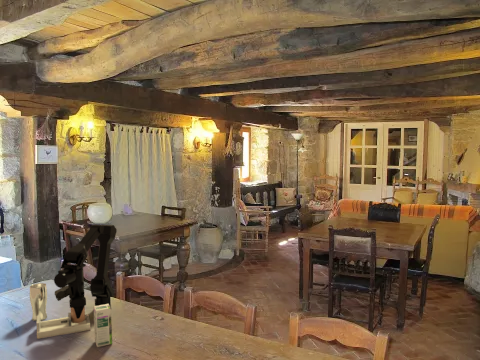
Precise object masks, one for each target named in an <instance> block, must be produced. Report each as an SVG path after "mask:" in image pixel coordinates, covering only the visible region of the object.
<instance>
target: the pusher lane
mask: <svg viewBox="0 0 480 360" xmlns="http://www.w3.org/2000/svg"><path fill="white" fill-rule="evenodd" d="M89 315H90V314H89V313H87V314H86V313H85V320H84V321H83V322H80V323H72V322H71V326H69V320H68V317H62V318H56V319H55V318H54V319H49V320H42V321H41V318H40V315H38V316H37V321H36V338H37V340H38V339H39V340H40V339H45V338H50V337H56V336H57V337H58V336H63V335H69V334H75V333H79V332H86V331H91V321H90V316H89ZM64 320H67V323H61V321H64Z"/></svg>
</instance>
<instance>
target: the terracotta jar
mask: <svg viewBox="0 0 480 360" xmlns="http://www.w3.org/2000/svg"><path fill="white" fill-rule="evenodd" d="M85 306H86V305H85ZM85 306H84V308H83V311H82V313H81V316H80V318H78V319H77V317H76V314H75V310H74V308H70V312H71V322H72V323H80V322H83V321H84V320H85V315H86V311H85V310H86V309H85Z"/></svg>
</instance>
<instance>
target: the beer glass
mask: <svg viewBox="0 0 480 360" xmlns="http://www.w3.org/2000/svg"><path fill="white" fill-rule="evenodd" d="M47 301H48V289H47V284H46V283H44V282H39V283H34V284H31V285H30V286H29V302H30V305H31V309H32V317H31V320H32V321H33V322H37V316H38V315H40V318H41V321H46V319H48V314H47Z"/></svg>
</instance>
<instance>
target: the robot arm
mask: <svg viewBox="0 0 480 360" xmlns="http://www.w3.org/2000/svg"><path fill="white" fill-rule="evenodd" d="M117 231H118V230H117V227H116V225H113V224H91V225H90V227H89V230H88V231H86V233H85V235H84V236H83V237H82V238H81V240H80V241H79V242H78V243H77V244H76V245H74V246H71V247H70V248H69V249H68V250H67V251H66V252H65V255H64V257H63V259H62V263H61V266H60V269H59V270H58V271H57V274H56V275H55V276H54V279H53V282H54V285H55V286H56V288H57V287H58V288H59V289H57V290H55V291H54V297H55V298H56V301H58V302H60V301H62V300H63V299H64V298H67V297H69V308H70V309H71V308H74V310H75V314H76V317H77V319H78V318H80V316H81V313H82V311H83V308H84V306H87V298H86V297H85V280H84V277H85V276H84V267H86V266H87V264H86V263H85V261H86V260H87V258H88V251H89V250H90V249H91V247H92V246H93V244H94V243H95V242H96V240H98V242H99V247H98V257H97V266H96V274H95V276H94V277H93V278H91V279H90V285H89V291H90V293H91V297H93V298H94V306H99V305H105V304H109V305H110V308H111V309H112V305H111V298H113V296H114V293H115V289H114V288H113V287H112V285H111V280H110V278H109V276H108V273H109V271H108V270H109V263H110V256H111V248H112V247H111V245H112V243H113V242H114V241H115V239H116V236H117V235H116V234H117Z"/></svg>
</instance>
